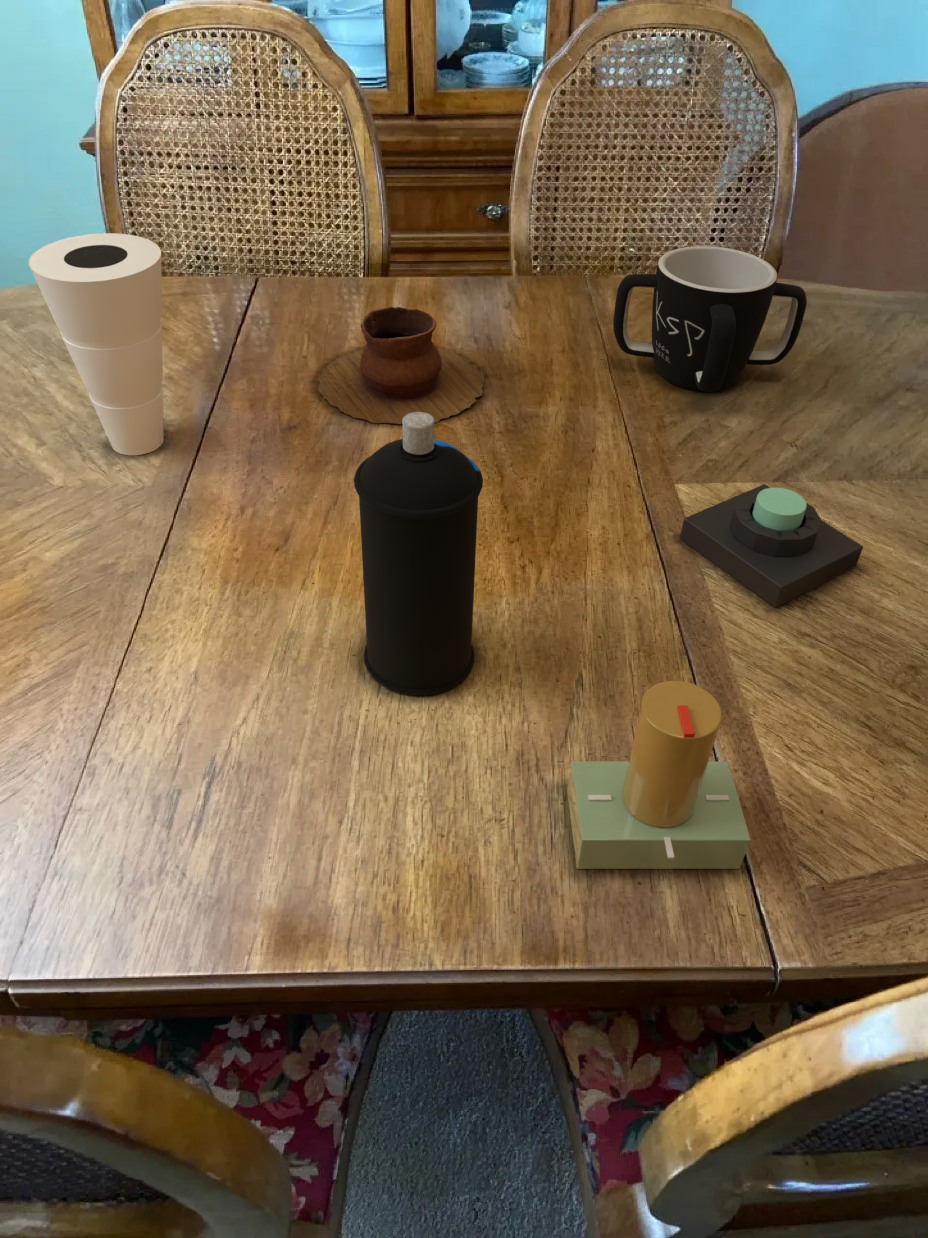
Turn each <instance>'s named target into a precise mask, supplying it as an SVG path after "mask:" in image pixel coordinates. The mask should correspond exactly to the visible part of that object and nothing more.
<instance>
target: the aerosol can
mask: <svg viewBox="0 0 928 1238" xmlns="http://www.w3.org/2000/svg"><path fill="white" fill-rule="evenodd" d="M434 421H435V420H434V418H433V417H432V416H431V415H430V414H428V413H424V412H412V413H409V414H407V415H406V416H404V417H403V420H402V424H401V425H402V438H400V439H397V440H393V441H391V442H388V443H386V444H385V445H383V446H381V447H379V448H378V449H377V450H376V451H375V452H373V453H372V454H371V455H369V456H368V457H367V458H365V460H363V461H362V462H361V463H360V464H359V466H358V467H357V469H356V470H355V474H354V477H353V484H354V485H353V486H354V489H355V491H356V493H357V496H358V504H359V520H360V521H359V522H360V543H361V559H362V574H363V575H362V578H363V579H362V580H363V597H364V616H365V618H364V619H365V633H366V634H365V636H366V637H365V638H366V645H365V647H364V652H363V661H364V665H365V668H366V671H367V672H368V674H369V675H370V676H371V678H372V679H373V680H374V681H376V682H377V683H378V684H380V685H381V686H382V687H384V688H386V689H387V690H391V691H392V692H395V693H399V694H403V695H408V696H431V695H434V694H440V693H442V692H446V691H448V690H450V689H452V688H454V687H456V686H457V685H459V684H461V682H463V681H464V680H465V679H466V678H467V676H468V675H469V674H470V672H471V671H472V668H473V666H474V663H475V655H476V654H475V649H474V646H473V643H472V641H473V620H474V600H475V599H474V597H475V575H476V553H477V535H478V533H477V532H478V531H477V530H478V528H477V527H478V510H479V496H480V494H481V492H482V490H483V487H484V478H483V473H482V471H481V469H480V468H479V466H478V464H476V463H475V462H474V461H473V460H472V458H469V457H468V456H466V454H465V453H463V452H462V451H461V450H459V449H458V448H457V447H456V446H454V445H452V444H451V443H449V442H446V441H443V440H441V439H436V438H435V423H434Z"/></svg>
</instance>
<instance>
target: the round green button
mask: <svg viewBox="0 0 928 1238" xmlns="http://www.w3.org/2000/svg"><path fill="white" fill-rule="evenodd" d="M806 503H807V501H806V500H805V498H804V497H803V496H802V495H800V494H799V493H797V492H796V491H794V490H791V489H788V488H784V487H770V488H767V489H764V490H762V491H760V492H759V493H758V495H757V498H756V502H755V506H754V509H753V514H752V515H753V518H754V520H755V521H756V522H758V523H759V524H761V525H762V526H764V527H767V528H770V529H774V530H778V531H794V530H796V529H798V528H799V527H800V525H801V523H802V520H803V517H804V514H805V511H806V507H807V504H806Z"/></svg>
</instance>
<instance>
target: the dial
mask: <svg viewBox="0 0 928 1238" xmlns="http://www.w3.org/2000/svg"><path fill="white" fill-rule="evenodd" d="M722 716H723V715H722V709H721V706H720V704H719V702H718V701H717V699H716V698H715V697H714V695H712V694H711V693H710V692H709V691H707V690H706V689H705V688H703V687H701V686H699V685H697V684H694V683H691V682H688V681H683V680H665V681H661V682H659V683H656V684H654V685H652V686H651V687H649V688H648V689H647V690H646V692H645V693H644V694H643V696H642V698H641V704H640V708H639V712H638V717H637V722H636V726H635V731H634V736H633V740H632V745H631V749H630V754H629V758H628V761H629V763H628V767H627V772H626V776H625V781H624V786H623V791H622V796H623V801H624V803H625V805H626V807H627V809H628V810H629V811H630V813H631V814H632V815H633V816H634V817H636V818H637V819H638V820H640V821H642V822H644V823H646V824H648V825H651V826H655V827H663V828H666V827H674V826H677V825H680V824H682V823H684V822H685V821H686V820H688V819H689V818H690V816H691V815H692V813H693V811H694V809H695V805H696V802H697V799H698V795H699V792H700V789H701V785H702V782H703V779H704V776H705V772H706V769H707V766H708V762H710V758H711V756H712V752H713V749H714V747H715V742H716V739H717V735H718V733H719V729H720V726H721V722H722V718H723V717H722Z"/></svg>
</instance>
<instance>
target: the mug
mask: <svg viewBox="0 0 928 1238" xmlns="http://www.w3.org/2000/svg"><path fill="white" fill-rule="evenodd" d="M777 280H778V272H777V271H776V269H775V268H774V267H773V266H772V265H771V264H770V263H769V262H767V261H766V260H765V259H763V258H761V257H760V256H759V257H758V256H756V255H755V254H751V253H748V252H745V251H743V250H739V249H734V248H728V247H721V246H713V245H712V246H708V245H697V246H696V245H695V246H684V247H680V248H676V249H673V250H670V251H668V252H666V253H664V254H663V255H661V256H660V258H659V259H658V261H657V265H656V271H655V273H635V274H634V273H632V274H627V275H626V276H624V278H623V279H622V280H621V281H620V283H619V285H618V287H617V290H616V297H615V301H614V309H613V319H612V320H613V323H612V324H613V325H612V327H613V333H614V337H615V341H616V343H617V345H618V347H619V348H620V350H621V351H623V352H624V353H625V354H628V355H631V356H635V357H643V358H653V364H654V368H655V370H656V373H657V374H658V375H659V376H660V377H661V378H663V379H664V380H666V381H667V382H669V383H671V384H673V385H676V386H678V387H680V388H684V389H690V390H697V391H702V392H705V393H713V392H716V391H718V390H720V389H723V388H727V387H729V386H731V385H732V384H734V383H735V382H736V381H737V380H738V379H739V378H740V375H741V374H742V373H743V371H744V370H745V368H746V366H747V365H750V366H772V365H775V364H778V363H779V362H781V361H782V360H783V359H785V358H786V357H787V355H788V354H789V353H790V352H791V350H792V349H793V348H794V345H795V344H796V342H797V339H798V338H799V333H800V330H801V327H802V324H803V321H804V317H805V313H806V310H807V304H808V300H807V299H808V298H807V295H806V291H805V290H804V289H803V288H802V287H801V286H800V285H795V284H791V283H782V282H777ZM634 288H647V289H648V288H649V289H653V297H652V307H651V308H652V309H651V310H652V312H651V342H644V341H636V340H632V339H631V338H630V336H629V333H628V314H629V308H630V302H631V297H632V293H633V290H634ZM774 297H778V298H791V303H790V308H789V312H788V316H787V319H786V323H785V327H784V330H783V332H782V335H781V337H780V338H779V341H778V342H777V343H776V345H774V346H773V348H771V349H768V350H767V349H766V350H754V349H755V346H756V344H757V342H758V339H759V337H760V334H761V332H762V330H763V327H764V324H765V322H766V319H767V316H768V312H769V310H770V307H771V304H772V300H773V298H774Z"/></svg>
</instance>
